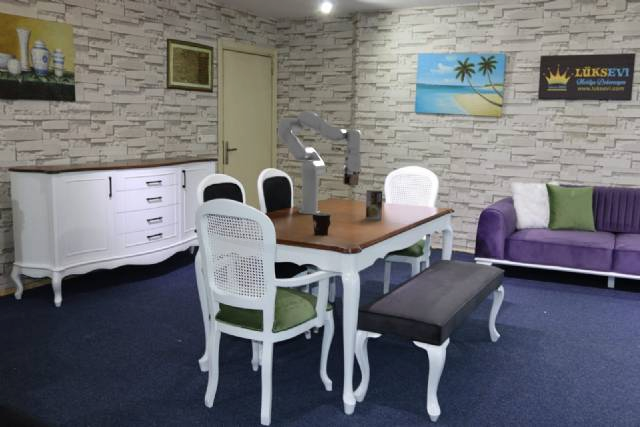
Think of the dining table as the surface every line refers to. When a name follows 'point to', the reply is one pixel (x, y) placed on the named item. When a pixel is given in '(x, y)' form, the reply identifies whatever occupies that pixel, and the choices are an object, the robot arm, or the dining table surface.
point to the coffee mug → (321, 223)
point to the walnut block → (352, 179)
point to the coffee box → (374, 204)
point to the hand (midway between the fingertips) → (350, 182)
